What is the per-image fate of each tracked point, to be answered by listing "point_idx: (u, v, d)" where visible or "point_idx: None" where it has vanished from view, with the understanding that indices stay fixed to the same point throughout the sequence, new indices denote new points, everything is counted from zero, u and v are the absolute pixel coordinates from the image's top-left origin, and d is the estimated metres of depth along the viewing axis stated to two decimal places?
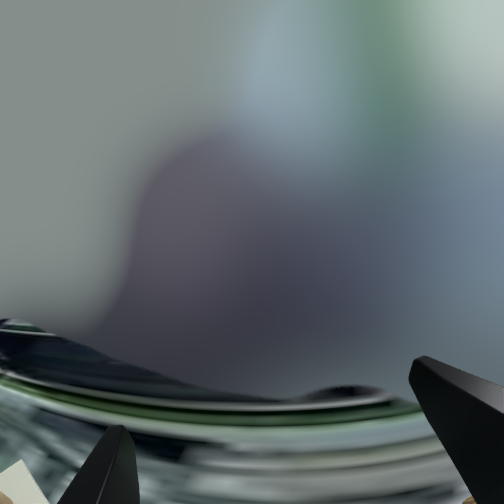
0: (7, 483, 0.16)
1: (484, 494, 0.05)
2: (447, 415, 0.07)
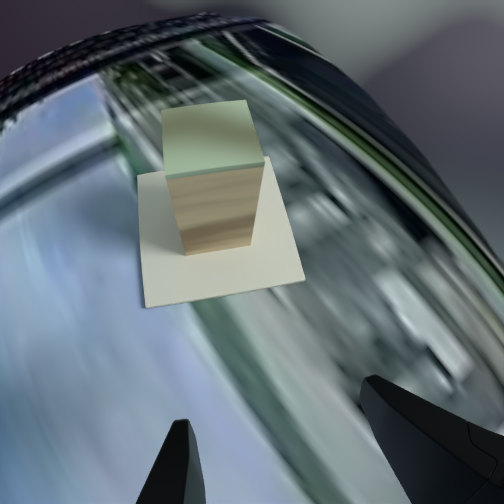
0: None
1: None
2: (395, 441, 0.07)
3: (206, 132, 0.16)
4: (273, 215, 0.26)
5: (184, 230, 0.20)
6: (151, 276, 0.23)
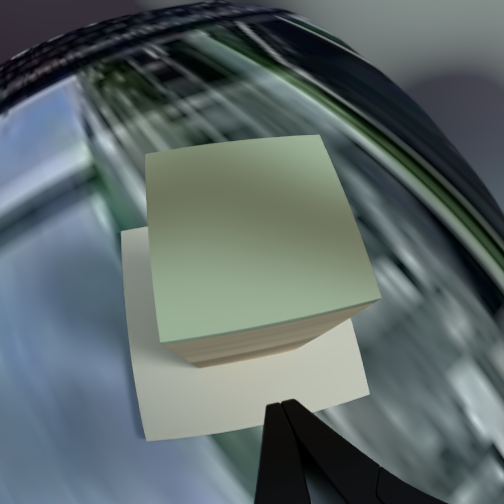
0: None
1: None
2: (306, 473, 0.06)
3: (248, 217, 0.08)
4: None
5: (199, 361, 0.12)
6: (150, 398, 0.14)
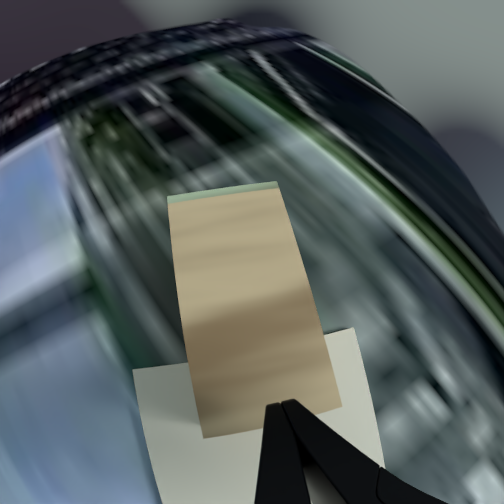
0: None
1: None
2: (306, 473, 0.06)
3: None
4: (360, 438, 0.14)
5: (192, 329, 0.11)
6: None
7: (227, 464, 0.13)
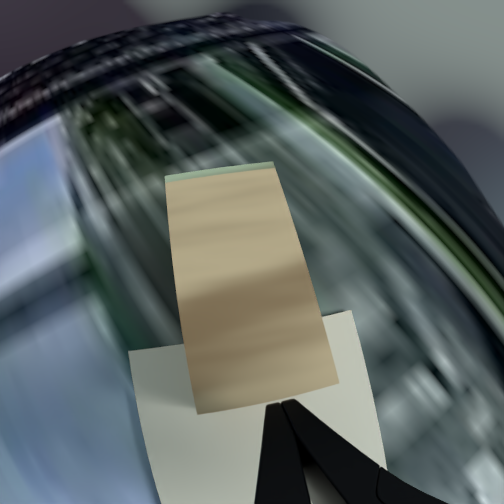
0: None
1: None
2: (306, 473, 0.06)
3: None
4: (358, 423, 0.14)
5: (187, 302, 0.11)
6: None
7: (223, 448, 0.13)
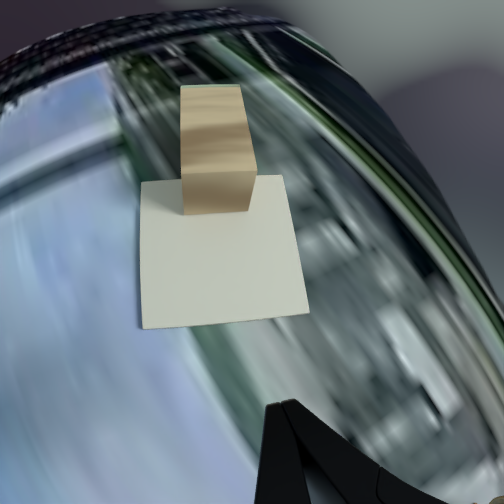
0: None
1: None
2: (306, 473, 0.06)
3: None
4: (282, 241, 0.25)
5: (185, 131, 0.22)
6: (150, 296, 0.22)
7: (190, 241, 0.24)
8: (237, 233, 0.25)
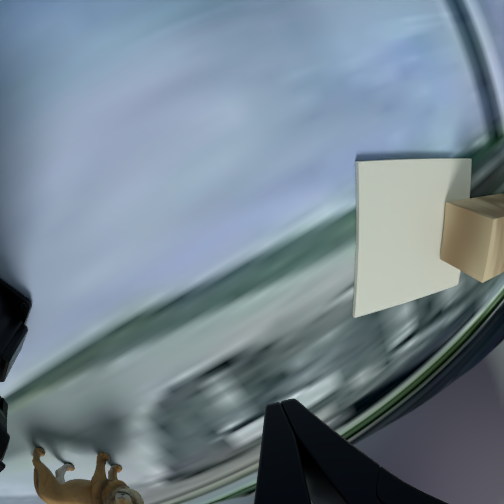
0: None
1: None
2: (306, 473, 0.06)
3: None
4: (412, 289, 0.25)
5: None
6: (386, 170, 0.20)
7: (425, 208, 0.22)
8: (425, 250, 0.24)
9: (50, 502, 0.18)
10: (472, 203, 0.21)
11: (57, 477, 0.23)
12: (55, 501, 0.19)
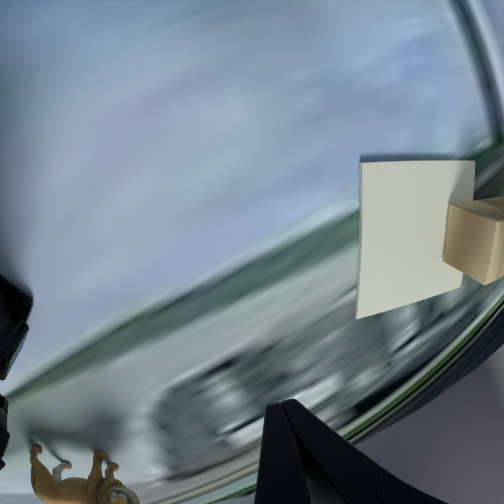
0: None
1: None
2: (306, 473, 0.06)
3: None
4: (415, 291, 0.24)
5: None
6: (390, 171, 0.20)
7: (429, 210, 0.22)
8: (428, 252, 0.23)
9: (46, 500, 0.18)
10: (475, 205, 0.21)
11: (54, 475, 0.23)
12: (52, 499, 0.19)
